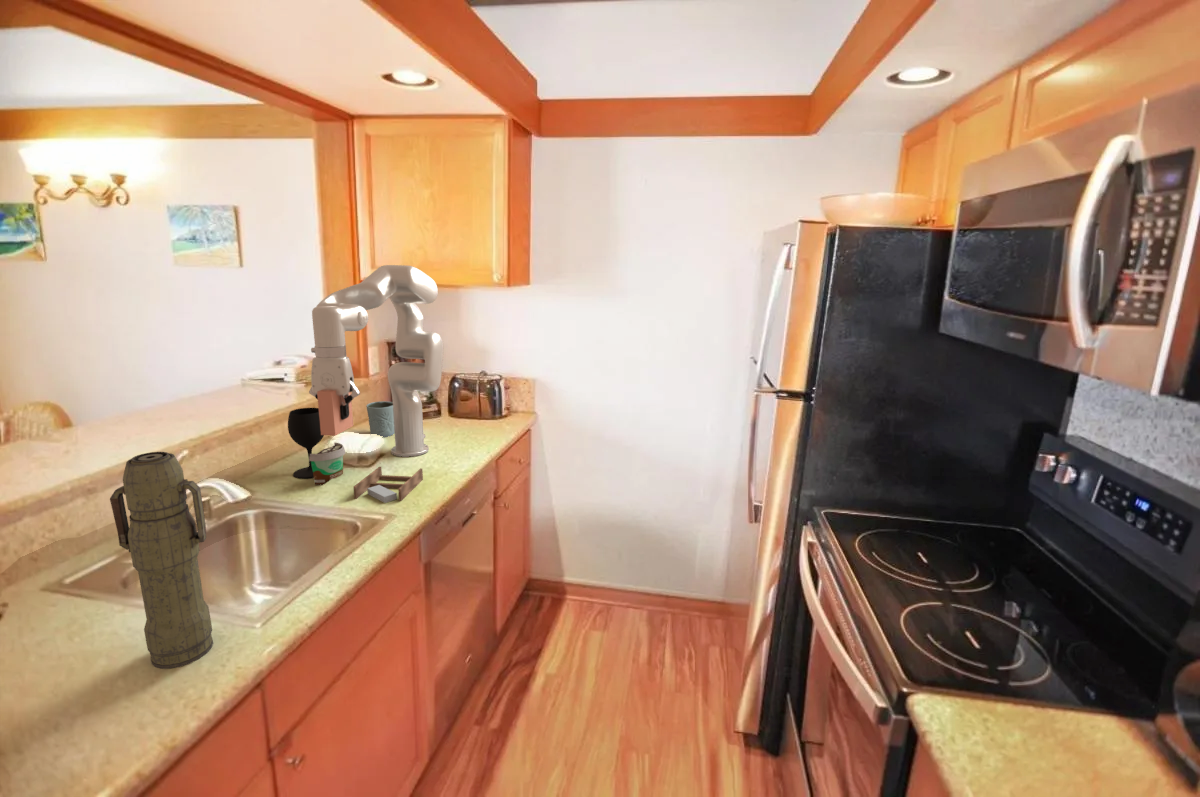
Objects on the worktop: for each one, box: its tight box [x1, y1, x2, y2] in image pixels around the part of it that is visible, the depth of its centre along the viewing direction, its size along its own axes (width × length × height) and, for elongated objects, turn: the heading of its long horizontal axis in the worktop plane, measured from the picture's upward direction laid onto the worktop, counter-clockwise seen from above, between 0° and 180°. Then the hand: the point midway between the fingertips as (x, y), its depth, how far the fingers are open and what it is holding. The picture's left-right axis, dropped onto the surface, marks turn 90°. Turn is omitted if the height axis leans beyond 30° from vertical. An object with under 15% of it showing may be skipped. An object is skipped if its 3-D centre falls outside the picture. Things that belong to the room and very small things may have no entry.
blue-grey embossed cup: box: [366, 400, 395, 438], centre depth 219 cm, size 10×10×12 cm
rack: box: [353, 466, 424, 502], centre depth 165 cm, size 16×13×5 cm
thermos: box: [109, 451, 214, 670], centre depth 94 cm, size 9×12×35 cm
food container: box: [308, 442, 346, 486], centre depth 173 cm, size 12×6×10 cm, turn 168°
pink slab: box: [317, 390, 354, 437], centre depth 159 cm, size 4×10×12 cm, turn 176°
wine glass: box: [287, 407, 325, 480], centre depth 178 cm, size 10×10×20 cm
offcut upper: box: [366, 485, 398, 504], centre depth 160 cm, size 4×9×2 cm, turn 50°
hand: (336, 417), depth 159 cm, fingers closed on pink slab, 4 cm apart
